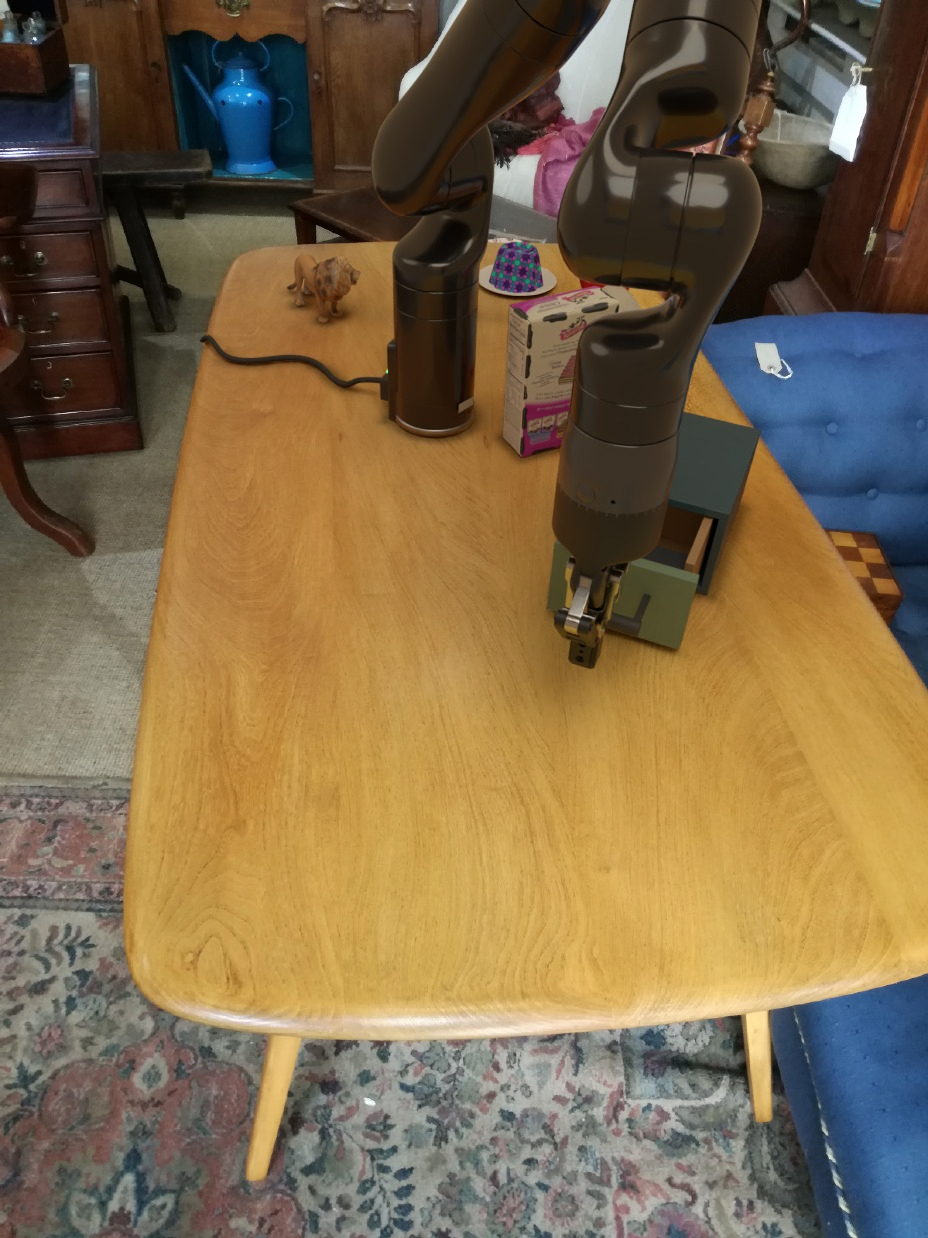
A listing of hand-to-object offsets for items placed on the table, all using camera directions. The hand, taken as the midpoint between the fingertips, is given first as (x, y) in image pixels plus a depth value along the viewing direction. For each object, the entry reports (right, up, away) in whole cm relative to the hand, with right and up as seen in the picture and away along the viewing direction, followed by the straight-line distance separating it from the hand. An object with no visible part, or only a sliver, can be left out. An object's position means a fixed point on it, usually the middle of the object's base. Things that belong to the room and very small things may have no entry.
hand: (583, 659), depth 73 cm
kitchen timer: (+7, +35, +47) cm, 59 cm away
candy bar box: (+1, +24, +35) cm, 43 cm away
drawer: (+6, +5, +14) cm, 16 cm away
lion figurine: (-29, +46, +58) cm, 80 cm away
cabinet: (+11, +12, +23) cm, 28 cm away
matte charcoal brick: (+6, +6, +13) cm, 16 cm away
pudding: (-2, +53, +66) cm, 85 cm away
